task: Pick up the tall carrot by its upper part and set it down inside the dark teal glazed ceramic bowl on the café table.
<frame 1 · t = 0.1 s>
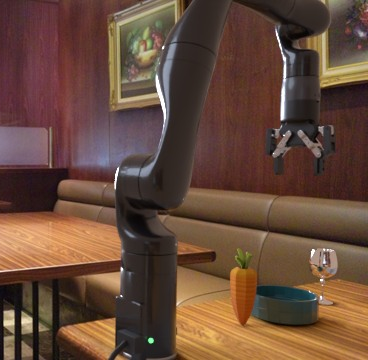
hand: (298, 175, 106), 29 cm above the table, tool pointing down, fingers open, 8 cm apart
bowl: (281, 316, 103), on the table
carrot: (242, 326, 97), on the table
wineglass: (321, 302, 114), on the table
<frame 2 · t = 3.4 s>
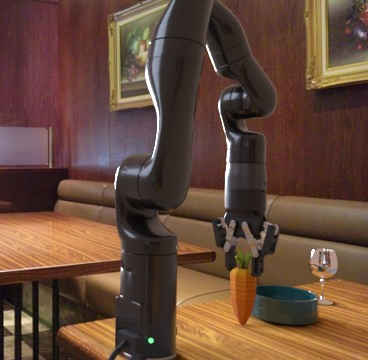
hand: (243, 272, 96), 10 cm above the table, tool pointing down, fingers closed on carrot, 5 cm apart
carrot: (242, 326, 97), on the table, touching gripper
everything else where it was.
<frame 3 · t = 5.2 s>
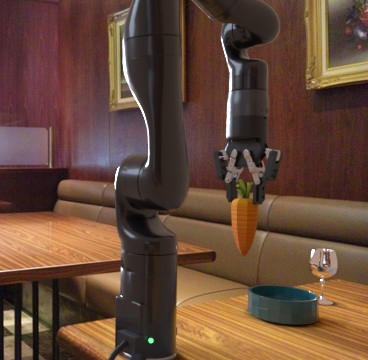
hand: (245, 202, 96), 24 cm above the table, tool pointing down, fingers closed on carrot, 5 cm apart
carrot: (243, 257, 96), point 13 cm above the table, touching gripper
everything else where it was.
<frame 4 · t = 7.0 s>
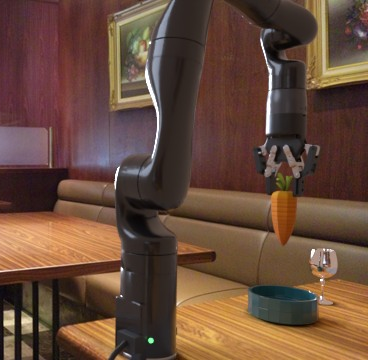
hand: (284, 195, 102), 25 cm above the table, tool pointing down, fingers closed on carrot, 5 cm apart
carrot: (283, 246, 102), point 15 cm above the table, touching gripper
everything else where it was.
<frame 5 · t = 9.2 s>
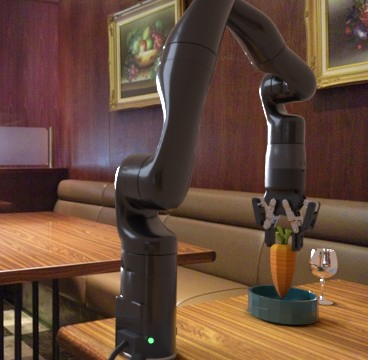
hand: (283, 248, 102), 14 cm above the table, tool pointing down, fingers closed on carrot, 5 cm apart
carrot: (282, 299, 102), point 4 cm above the table, touching gripper
everything else where it was.
when the fingers open (11 cm above the table, at t = 10.6 s): carrot stays where it is, resting on bowl.
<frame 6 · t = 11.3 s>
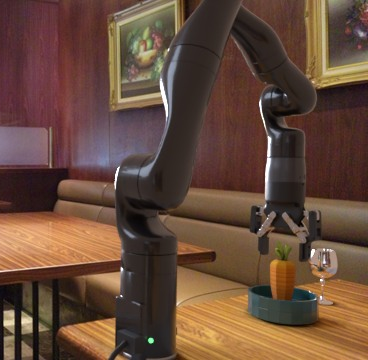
hand: (283, 257, 102), 12 cm above the table, tool pointing down, fingers open, 8 cm apart
carrot: (281, 315, 103), resting on bowl
everything else where it was.
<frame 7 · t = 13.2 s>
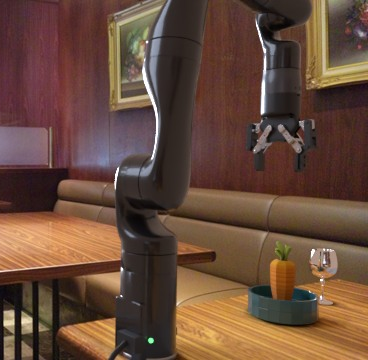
hand: (278, 171, 102), 30 cm above the table, tool pointing down, fingers open, 8 cm apart
nothing on the table moved.
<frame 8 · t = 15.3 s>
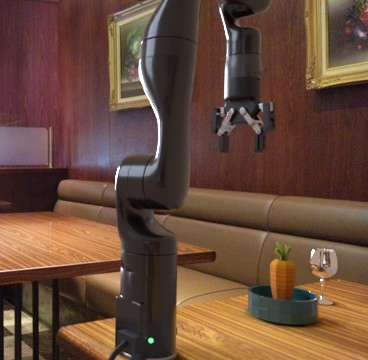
hand: (241, 152, 108), 34 cm above the table, tool pointing down, fingers open, 8 cm apart
nothing on the table moved.
at the end: carrot inside the target area in the bowl (0.1 cm from its centre), point 0.3 cm above the bowl's base; the gripper is holding nothing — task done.
